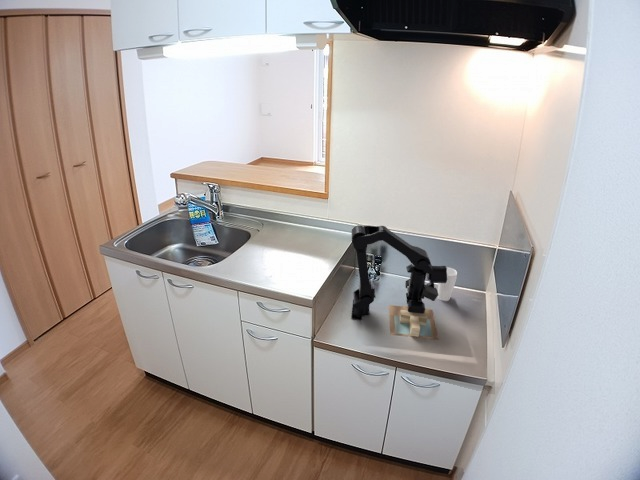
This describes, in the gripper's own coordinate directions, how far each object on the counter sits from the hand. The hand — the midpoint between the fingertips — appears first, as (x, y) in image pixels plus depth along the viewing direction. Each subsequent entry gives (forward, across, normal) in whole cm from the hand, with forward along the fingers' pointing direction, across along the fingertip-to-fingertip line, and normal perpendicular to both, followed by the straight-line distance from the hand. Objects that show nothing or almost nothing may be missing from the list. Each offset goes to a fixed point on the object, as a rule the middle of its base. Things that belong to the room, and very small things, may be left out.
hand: (411, 312), depth 146 cm
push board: (+2, -4, 0) cm, 5 cm away
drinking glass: (+3, +14, -15) cm, 21 cm away
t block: (+1, -8, 0) cm, 8 cm away
